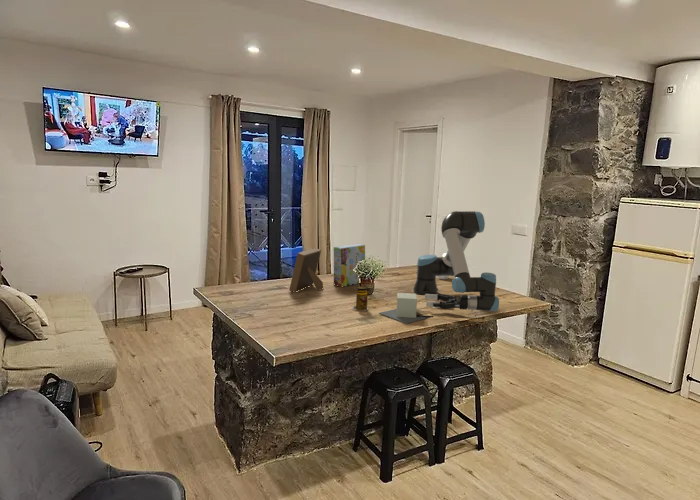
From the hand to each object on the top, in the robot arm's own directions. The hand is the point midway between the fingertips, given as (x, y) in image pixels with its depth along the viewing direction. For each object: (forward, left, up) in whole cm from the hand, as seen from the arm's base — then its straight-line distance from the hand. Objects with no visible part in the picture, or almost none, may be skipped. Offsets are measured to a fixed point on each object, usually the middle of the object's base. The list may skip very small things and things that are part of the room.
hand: (425, 300), depth 240 cm
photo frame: (-79, -20, -9) cm, 82 cm away
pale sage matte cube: (-7, -7, -8) cm, 13 cm away
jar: (-53, +77, -9) cm, 94 cm away
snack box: (-77, +11, -9) cm, 78 cm away
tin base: (-5, +19, -9) cm, 22 cm away
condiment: (-30, -19, -9) cm, 36 cm away
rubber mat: (-7, -7, -9) cm, 13 cm away
